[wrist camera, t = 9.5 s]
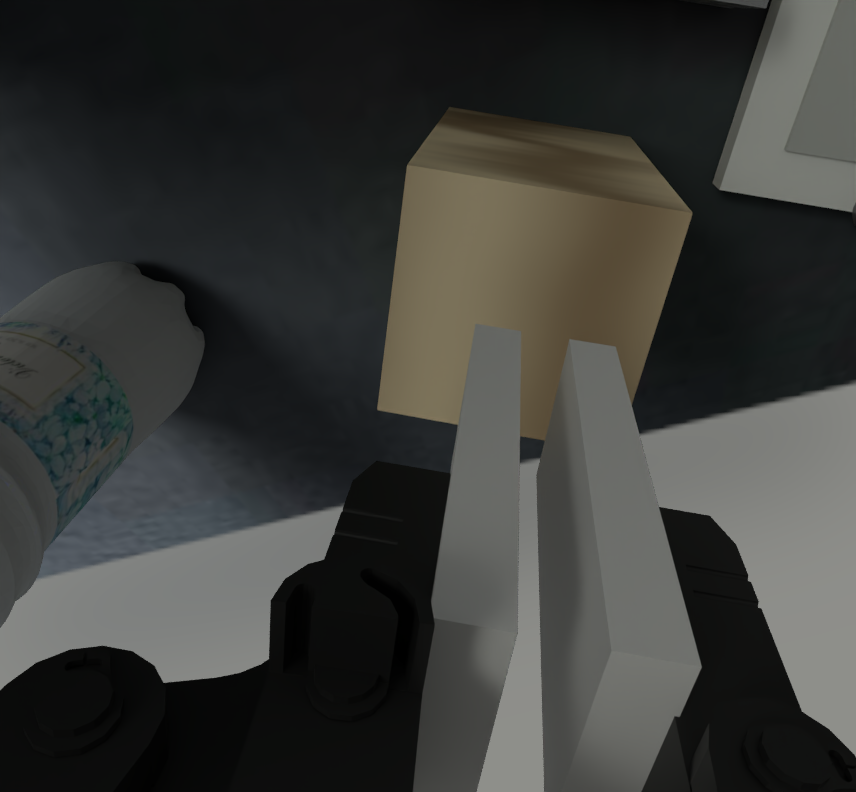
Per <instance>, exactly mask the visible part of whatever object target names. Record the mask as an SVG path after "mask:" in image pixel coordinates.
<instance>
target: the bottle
mask: <svg viewBox="0 0 856 792" xmlns="http://www.w3.org/2000/svg"><path fill="white" fill-rule="evenodd" d="M184 304H185V295H184V294H183V292H182V291H181V290H180V289H178V288H177V287H176V286H175V285H174V284H172V283H165V282H159V281H154V280H152V279H150V278H148V277H146V276H143V275H141V272H140V270H139V269H138V268H137V266H135V265H134V264H130V263H127V262H121V261H111V262H105V263H100V264H96V265H92V266H87V267H83V268H79V269H75V270H73V271H70V272H68V273H66V274H63V275H61V276H58V277H56V278H55V279H53V280H52V281H50V282H48V283H47V284H45V285H44V286H42V287H41V288H40V289H38V290H37V291H35V292H34V293H32V294H31V295H30V296H28V297H27V298H26V299H24V300H23V301H22V302H20V303H19V304H18V305H17V306H15V307H14V308H13V309H11V310H10V311H9V312H7V313H6V314H5V315H3V316H2V317H1V318H0V627H1V626H2V625H3V624H4V622H5V621H6V619H7V617H8V616H9V614H10V612H11V610H12V607H13V605H14V603H15V601H16V600H18V599H19V598H20V597H22V596H23V595H24V594H25V593H26V592H27V591H28V590H29V589H30V588H31V586H32V585H33V583H34V581H35V580H36V578H37V576H38V574H39V571H40V567H41V563H42V559H43V554H44V551H45V550H46V549H47V548H48V547H49V545H50V544H51V543H52V542H53V541H54V540H55V539H56V537H57V536H58V535H59V534H60V533H61V532H62V531H63V529H64V528H65V527H66V526H67V525H68V524H69V523H70V521H71V520H72V519H73V518H74V517H75V516H76V515H77V513H78V512H79V511H80V510H81V509H82V508H83V507H84V505H85V504H86V503H87V502H88V501H89V500H90V499H91V497H92V496H93V495H94V494H95V493H96V492H97V491H98V489H99V488H100V487H101V486H102V485H103V484H104V483H105V481H106V480H107V479H108V478H109V477H110V476H111V475H112V473H113V472H114V471H115V470H116V469H117V468H118V467H119V465H120V464H121V463H122V462H123V461H124V460H125V459H126V458H127V456H128V455H129V454H130V453H131V452H132V451H133V450H134V449H135V448H136V447H137V446H138V445H139V444H141V443H142V442H143V441H144V440H145V439H146V438H147V437H148V436H149V435H150V434H151V433H153V432H154V431H155V430H156V429H157V428H158V427H159V426H160V425H161V424H162V423H163V422H164V421H165V420H166V419H167V418H168V417H169V416H170V415H171V414H172V413H173V412H174V411H175V410H176V409H177V408H178V407H179V406H180V404H181V403H182V402H183V400H184V399H185V397H186V396H187V395H188V393H189V392H190V390H191V388H192V386H193V384H194V381H195V378H196V374H197V371H198V368H199V365H200V362H201V360H202V356H203V352H204V346H205V341H204V335H203V332H202V330H201V329H200V328H198V327H197V326H192V324H191V322H190V320H189V318H188V316H187V314H186V311H185V306H184Z"/></svg>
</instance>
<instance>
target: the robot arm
mask: <svg viewBox="0 0 856 792" xmlns="http://www.w3.org/2000/svg"><path fill="white" fill-rule="evenodd" d="M520 386H521V331H517V330H511V329H505V328H499V327H493V326H487V325H481V324H475V329H474V335H473V341H472V347H471V353H470V358H469V364H468V370H467V376H466V382H465V388H464V393H463V399H462V405H461V411H460V417H459V423H458V428H457V434H456V440H455V446H454V452H453V458H452V464H451V470H450V473H444V472H438V471H432V470H426V469H421V468H415V467H409V466H403V465H398V464H392V463H386V462H380V461H376V462H375V463H374V464H372V465H371V466H370V467H369V468H368V469H366V470H365V471H364V472H363V473H362V474H360V475H359V476H358V477H357V478H356V479H354V480H353V482H352V485H351V487H350V490H349V493H348V496H347V498H346V501H345V504H344V507H343V512H342V513H341V515H340V518H339V520H338V523H337V526H336V529H335V534H334V535H333V537H332V540H331V542H330V545H329V548H328V551H327V553H326V556H325V559H324V560H322V561H318V562H314V563H310V564H307V565H306V566H304V567H303V568H301V569H300V570H298V571H297V572H295V573H294V574H292V575H291V576H289V577H288V578H286V579H285V580H284V581H283V583H282V585H281V586H280V588H279V589H278V591H277V592H276V593H275V595H274V597H273V598H272V600H271V614H270V648H269V660H267V661H266V662H264V663H263V664H261V665H259V666H256V667H254V668H251V669H249V670H246V671H244V672H241V673H238V674H233V675H228V676H223V677H217V678H209V679H199V680H189V681H180V682H169V683H163V681H162V680H161V678H160V676H159V674H158V672H157V670H156V669H155V666H154V665H152V664H151V663H149V662H148V661H146V660H144V659H143V658H142V657H140V656H138V655H137V654H135V653H134V652H132V651H128V650H122V649H117V648H111V647H107V646H98V647H89V648H81V649H72V650H68V651H66V652H63V653H60V654H58V655H56V656H53V657H50V658H48V659H45V660H42V661H40V662H37V663H36V664H34V665H33V666H31V667H30V668H29V669H27V670H26V671H24V672H23V673H22V674H20V675H19V676H18V677H16V678H15V679H13V680H12V681H11V682H9V683H8V684H7V685H6V686H4V687H3V688H2V689H1V690H0V792H476V791H477V787H478V783H479V780H480V776H481V772H482V768H483V764H484V760H485V757H486V752H487V749H488V745H489V741H490V737H491V733H492V729H493V726H494V722H495V718H496V714H497V710H498V707H499V703H500V699H501V695H502V691H503V687H504V683H505V679H506V675H507V672H508V668H509V664H510V660H511V657H512V653H513V649H514V645H515V641H516V637H517V633H518V632H517V631H518V550H519V549H518V547H519V546H518V545H519V469H520ZM537 513H538V553H539V592H540V593H539V595H540V632H541V633H540V634H541V677H542V714H543V715H542V717H543V758H544V792H856V757H855V755H854V754H853V753H852V752H851V751H850V750H849V749H848V748H847V747H846V746H845V745H844V744H843V743H842V742H841V741H840V740H839V739H838V738H837V737H836V736H835V735H834V734H833V733H832V732H831V731H830V730H829V729H828V728H826V727H825V726H823V725H822V724H820V723H819V722H817V721H815V720H814V719H812V718H811V717H809V716H808V715H806V714H805V713H803V712H802V711H801V708H800V706H799V703H798V701H797V698H796V696H795V693H794V690H793V688H792V685H791V683H790V680H789V678H788V675H787V673H786V670H785V667H784V665H783V663H782V660H781V657H780V655H779V652H778V650H777V647H776V645H775V642H774V640H773V637H772V634H771V632H770V629H769V627H768V624H767V622H766V619H765V617H764V614H763V612H762V609H761V608H758V599H757V596H756V594H755V591H754V589H753V586H752V584H751V582H749V581H748V574H747V571H746V568H745V566H744V564H743V561H742V558H741V556H740V553H739V551H738V548H737V546H736V544H735V543H734V542H733V541H732V540H731V539H730V537H729V536H727V534H726V533H725V532H724V531H723V530H722V529H721V528H720V527H719V526H718V524H717V523H716V522H715V521H714V520H713V519H712V518H711V517H710V516H708V515H701V514H696V513H690V512H684V511H679V510H673V509H667V508H661V507H659V506H658V502H657V498H656V495H655V491H654V487H653V483H652V480H651V476H650V472H649V469H648V465H647V461H646V457H645V454H644V450H643V446H642V443H641V439H640V435H639V431H638V428H637V424H636V420H635V416H634V413H633V409H632V405H631V402H630V398H629V394H628V390H627V387H626V383H625V379H624V376H623V372H622V368H621V364H620V361H619V357H618V353H617V349H616V347H615V346H609V345H603V344H597V343H590V342H584V341H578V340H572V339H569V343H568V347H567V352H566V356H565V360H564V364H563V368H562V372H561V376H560V380H559V385H558V389H557V393H556V397H555V401H554V405H553V409H552V414H551V418H550V422H549V426H548V430H547V434H546V438H545V443H544V447H543V451H542V455H541V459H540V463H539V468H538V471H537Z"/></svg>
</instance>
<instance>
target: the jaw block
mask: <svg viewBox="0 0 856 792" xmlns="http://www.w3.org/2000/svg"><path fill="white" fill-rule="evenodd" d="M692 214H693V213H692V211H691V210H690V209H689V208H688V206H687V205H686V204H685V203H684V202H683V200H682V199H681V198H680V197H679V195H678V194H677V193H676V192H675V191H674V189H673V188H672V187H671V186H670V185H669V183H668V182H667V181H666V180H665V178H664V177H663V176H662V175H661V174H660V172H659V171H658V170H657V169H656V167H655V166H654V165H653V164H652V163H651V161H650V160H649V159H648V158H647V156H646V155H645V154H644V153H643V152H642V150H641V149H640V148H639V147H638V145H637V144H636V143H635V142H634V141H633V139H632V138H631V137H629V136H623V135H617V134H611V133H605V132H599V131H593V130H587V129H581V128H575V127H568V126H562V125H556V124H550V123H544V122H538V121H532V120H526V119H520V118H514V117H508V116H502V115H496V114H490V113H484V112H478V111H472V110H466V109H460V108H454V107H449V108H448V110H447V111H446V113H445V114H444V115H443V117H442V118H441V119H440V121H439V122H438V123H437V125H436V126H435V128H434V129H433V130H432V132H431V133H430V134H429V136H428V137H427V138H426V140H425V141H424V143H423V144H422V145H421V147H420V148H419V149H418V151H417V152H416V153H415V155H414V156H413V158H412V159H411V160H410V162H409V163H408V164H407V170H406V178H405V186H404V194H403V203H402V211H401V219H400V227H399V235H398V244H397V252H396V260H395V268H394V276H393V284H392V293H391V301H390V309H389V317H388V325H387V334H386V342H385V350H384V358H383V366H382V375H381V383H380V391H379V399H378V407H377V410H379V411H385V412H390V413H396V414H401V415H407V416H412V417H418V418H424V419H429V420H435V421H440V422H446V423H451V424H457V425H458V423H459V417H460V411H461V405H462V399H463V393H464V388H465V382H466V376H467V370H468V364H469V358H470V353H471V347H472V341H473V335H474V329H475V324H481V325H487V326H493V327H499V328H505V329H511V330H517V331H521V386H520V436H523V437H529V438H534V439H540V440H545V438H546V434H547V430H548V426H549V422H550V418H551V414H552V409H553V405H554V401H555V397H556V393H557V389H558V385H559V380H560V376H561V372H562V368H563V364H564V360H565V356H566V352H567V347H568V343H569V339H572V340H578V341H584V342H590V343H597V344H603V345H609V346H615V347H616V349H617V353H618V357H619V361H620V364H621V368H622V372H623V376H624V379H625V383H626V387H627V390H628V394H629V398H630V402H631V405H632V402H633V399H634V396H635V393H636V390H637V386H638V383H639V380H640V377H641V374H642V371H643V368H644V365H645V361H646V358H647V355H648V352H649V349H650V346H651V343H652V339H653V336H654V333H655V330H656V327H657V324H658V321H659V318H660V314H661V311H662V308H663V305H664V302H665V299H666V296H667V292H668V289H669V286H670V283H671V280H672V277H673V274H674V270H675V267H676V264H677V261H678V258H679V255H680V252H681V249H682V245H683V242H684V239H685V236H686V233H687V230H688V227H689V223H690V220H691V217H692Z"/></svg>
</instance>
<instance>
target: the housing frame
mask: <svg viewBox="0 0 856 792" xmlns="http://www.w3.org/2000/svg"><path fill="white" fill-rule="evenodd" d="M679 1H686V2H692V3H698V4H704V5H711V6H717V7H723V8H767V4H768V1H769V0H679Z"/></svg>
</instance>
